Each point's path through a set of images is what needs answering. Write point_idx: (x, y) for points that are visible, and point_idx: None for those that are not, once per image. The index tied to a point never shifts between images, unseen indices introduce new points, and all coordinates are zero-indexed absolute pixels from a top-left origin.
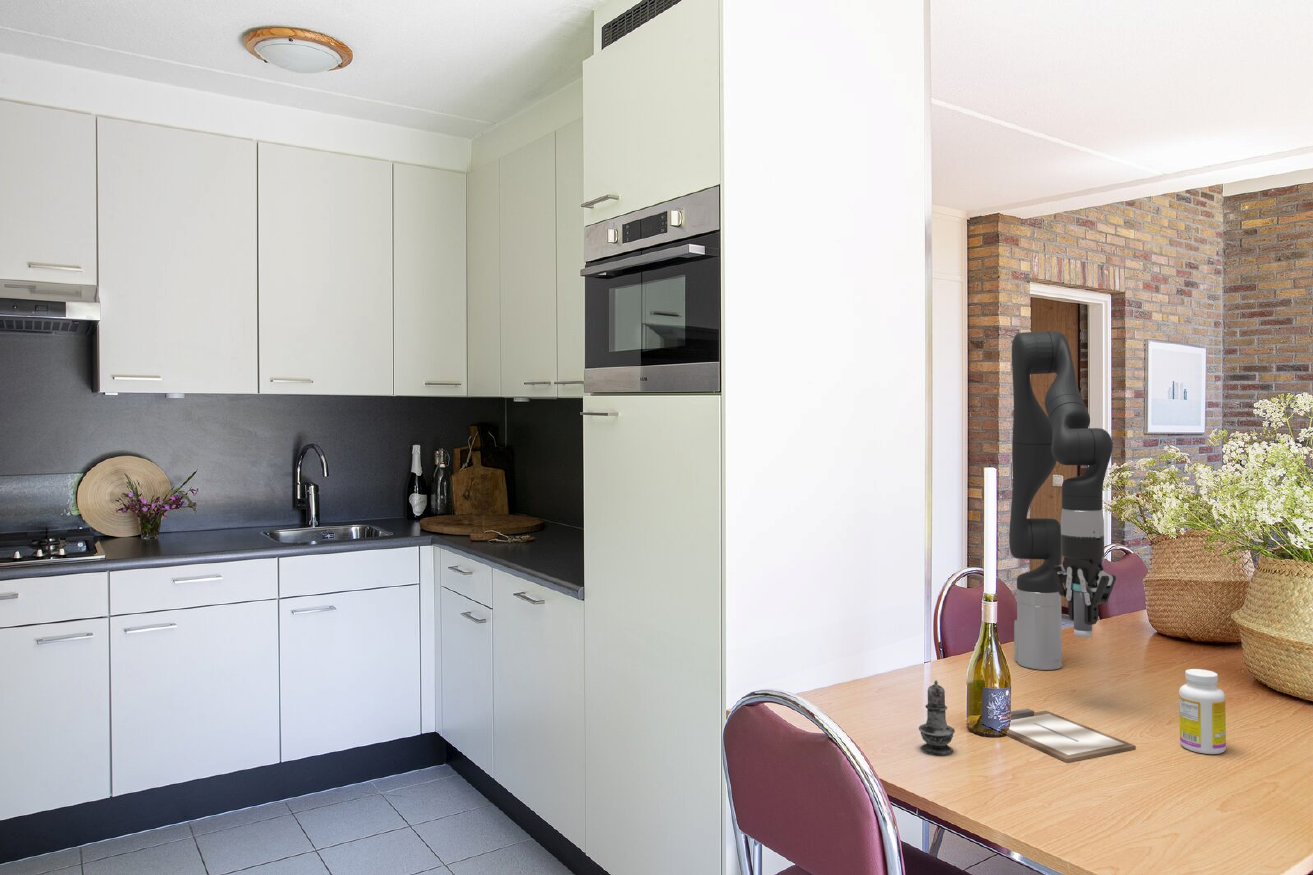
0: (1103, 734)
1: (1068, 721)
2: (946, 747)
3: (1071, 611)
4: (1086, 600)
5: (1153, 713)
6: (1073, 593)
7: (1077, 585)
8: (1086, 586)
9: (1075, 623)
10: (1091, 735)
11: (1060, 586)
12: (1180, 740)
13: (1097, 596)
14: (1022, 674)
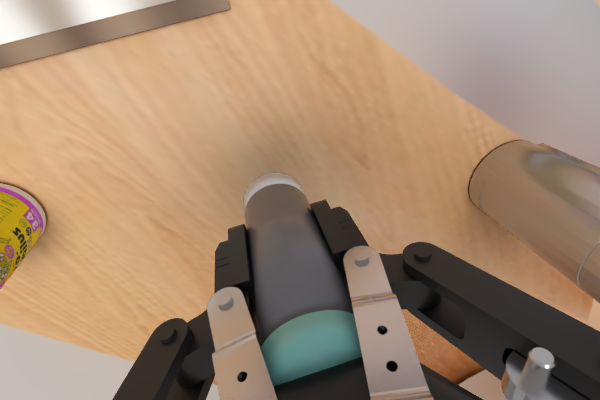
0: (33, 48)
1: (137, 16)
2: None
3: (324, 222)
4: (236, 305)
5: (213, 225)
6: (334, 293)
7: (300, 355)
8: (219, 391)
9: (278, 197)
10: (10, 6)
11: (450, 279)
12: (1, 186)
13: (146, 368)
14: (478, 116)
